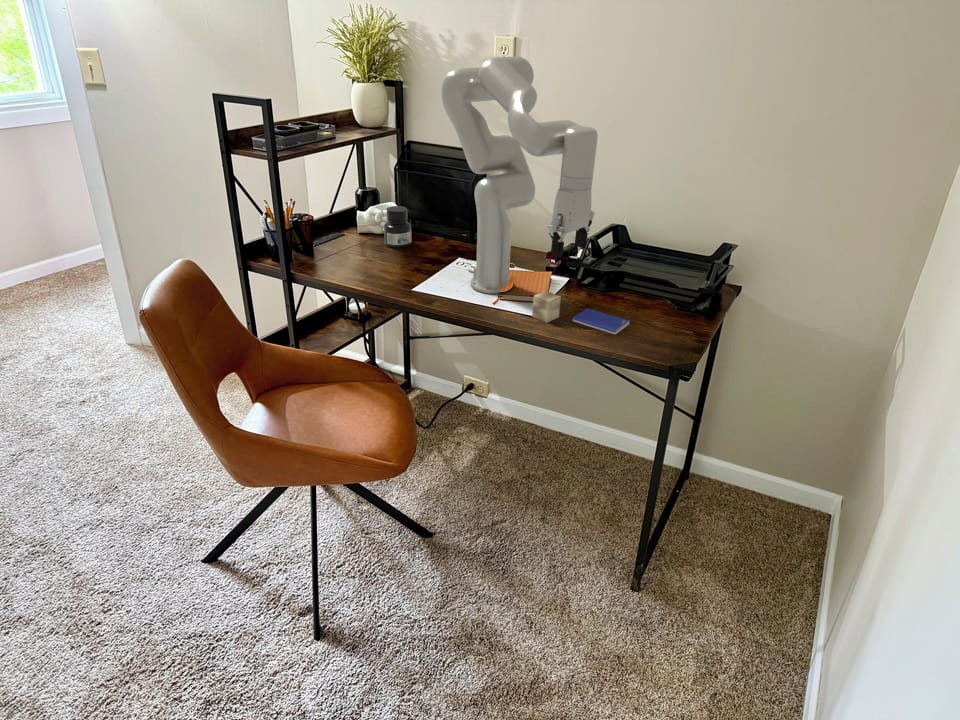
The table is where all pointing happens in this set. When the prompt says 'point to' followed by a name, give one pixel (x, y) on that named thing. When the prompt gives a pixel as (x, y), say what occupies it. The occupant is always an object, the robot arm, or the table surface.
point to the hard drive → (601, 321)
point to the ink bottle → (397, 227)
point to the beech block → (546, 306)
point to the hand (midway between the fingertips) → (568, 251)
